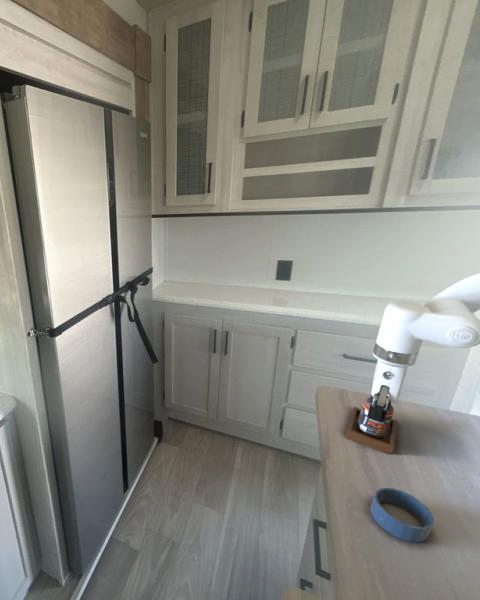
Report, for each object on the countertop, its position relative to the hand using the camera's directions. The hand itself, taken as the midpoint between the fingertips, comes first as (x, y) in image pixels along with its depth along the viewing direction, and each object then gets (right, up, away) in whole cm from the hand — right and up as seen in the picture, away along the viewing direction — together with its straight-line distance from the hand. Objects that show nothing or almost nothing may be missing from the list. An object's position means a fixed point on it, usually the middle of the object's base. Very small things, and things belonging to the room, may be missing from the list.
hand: (376, 411), depth 85 cm
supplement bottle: (+1, -6, +3) cm, 7 cm away
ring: (-13, -17, -18) cm, 28 cm away
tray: (+1, -7, +3) cm, 7 cm away
